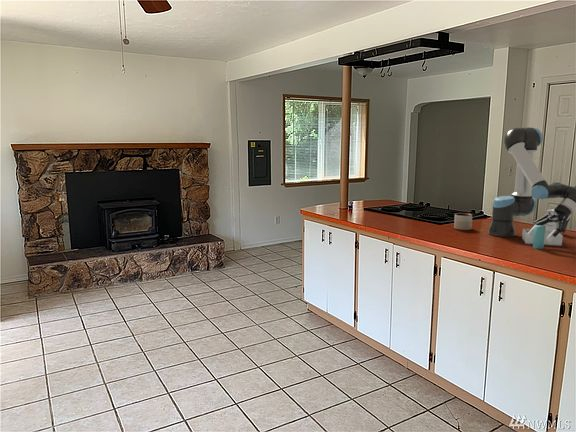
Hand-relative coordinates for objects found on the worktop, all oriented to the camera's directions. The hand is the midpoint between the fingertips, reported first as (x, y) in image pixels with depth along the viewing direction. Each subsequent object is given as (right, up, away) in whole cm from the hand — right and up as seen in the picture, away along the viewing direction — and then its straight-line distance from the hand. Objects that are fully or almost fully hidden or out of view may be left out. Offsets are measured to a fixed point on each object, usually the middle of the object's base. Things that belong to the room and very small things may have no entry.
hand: (538, 237), depth 232 cm
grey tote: (+10, -3, +14) cm, 18 cm away
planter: (-19, +3, +53) cm, 57 cm away
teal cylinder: (+1, -6, +2) cm, 6 cm away
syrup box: (+30, +1, +36) cm, 47 cm away
